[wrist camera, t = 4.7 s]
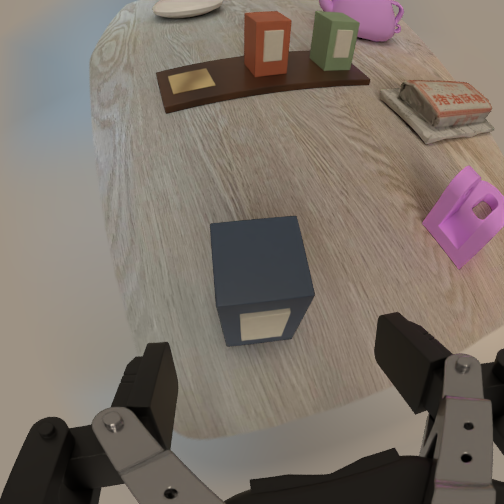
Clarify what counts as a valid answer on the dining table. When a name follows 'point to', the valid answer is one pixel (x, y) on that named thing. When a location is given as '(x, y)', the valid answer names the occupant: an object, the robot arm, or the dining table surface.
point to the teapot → (369, 16)
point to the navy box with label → (260, 279)
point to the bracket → (465, 216)
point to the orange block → (266, 43)
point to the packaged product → (440, 108)
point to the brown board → (245, 80)
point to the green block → (333, 40)
